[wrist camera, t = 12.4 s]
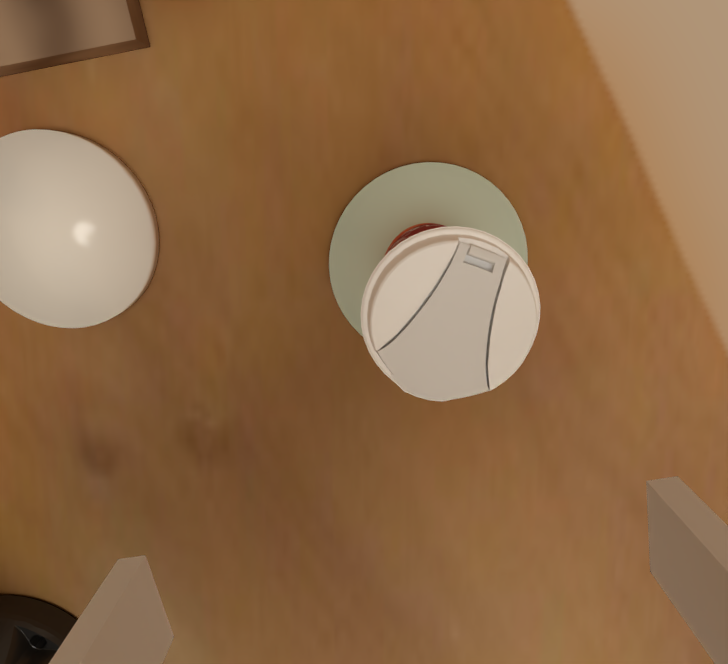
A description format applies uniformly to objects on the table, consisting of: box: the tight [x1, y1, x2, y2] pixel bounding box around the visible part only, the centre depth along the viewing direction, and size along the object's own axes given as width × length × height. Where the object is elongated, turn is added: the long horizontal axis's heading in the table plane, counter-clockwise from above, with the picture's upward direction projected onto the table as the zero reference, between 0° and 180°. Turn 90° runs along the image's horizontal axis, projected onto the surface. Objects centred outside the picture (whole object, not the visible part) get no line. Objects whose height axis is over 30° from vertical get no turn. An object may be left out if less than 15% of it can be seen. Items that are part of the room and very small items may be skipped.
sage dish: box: [329, 162, 528, 336], centre depth 36 cm, size 13×13×1 cm
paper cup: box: [361, 223, 540, 402], centre depth 29 cm, size 8×8×14 cm
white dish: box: [0, 129, 159, 328], centre depth 36 cm, size 13×13×1 cm
